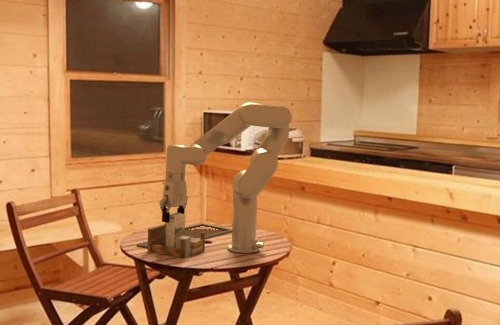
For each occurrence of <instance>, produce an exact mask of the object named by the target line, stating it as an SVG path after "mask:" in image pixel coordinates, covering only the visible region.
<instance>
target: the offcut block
mask: <svg viewBox="0 0 500 325" xmlns="http://www.w3.org/2000/svg"><path fill="white" fill-rule="evenodd" d="M181 239H185V258H187V257H189V256H190V255H191V254H190V249H191V237H188V236H180V237H177V238H176V248H178V249H181Z"/></svg>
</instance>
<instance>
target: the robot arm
mask: <svg viewBox="0 0 500 325" xmlns="http://www.w3.org/2000/svg"><path fill="white" fill-rule="evenodd" d="M292 120H293V114H292V111H291V110H290V109H289V107H286V106H284V105H273V104H263V103H262V104H260V103H256V102H255V103H254V102H246V103H244V104H242V105H240V106H239V107H237V108H236V109H235V110H234V111H232V112H231V113H229V115H228V116H226V117H225V118H223V119H222V120H221V121H220V122H218V123H217V124H216V125H215V126H213V127H211V129H210V130H208V131H207V132H205V133H204V134H203V135H201V136H200V137H199V138H198V139H196V140H195V141H194V142H192V143H191V144H190V145H189V146H184V145H183V144H169V145H167V147H166V156H165V157H166V160H165V161H166V162H165V181H164V185H163V192H162V198H161V200H159V202H158V203H159V207H160V210H161V222H162V223H165V222H166V223H169V221H170V213H171V212H170V210H171V208H176V213H182V214H184V215H185V214H186V213H185V212H186V210H185V209H186V208H187V207H186V205H187V204H188V200H189V196H188V192H187V181H186V167H187V166H186V165H191V166H201V165H203V164H204V163H205V162H206V160H207V156H208V155H210V154H211V153H212V152H214V150H216V149H218V148H220V147H221V146H224V145H226V144H228V143H230V142H232V141H233V140H235V139H236V138H237V137H239V136H240V135H241V134H242V133H243V132H244V131H246V130H247V129H248V128H250V127H252V126H253V127H260V128H268V130H267V132H266V135H265V137H264V138H263V139H262V141H261V142H260V144H259V145H258V146H257V147H256V149H255V150H254V151H253V153H251V156H250V159H249V166H248V167H247V169H246V170H245V169H244V170H241V171H239V172H237V173H236V174H235V175H234V177H233V180H232V221H231V222H232V225H231V229H232V232H231V243H230V244H228V245H227V250H229V251H230V252H234V253H238V254H239V253H240V254H249V253H250V254H252V253H257V252H258V251H259V250H261V249H264V247H265V245H264V244H265V243H264V242H260V241H259V238H257V216H258V215H257V210H258V196H259V195H260V194H261V192H262V191H263V190H264V189H265V187H266V186H267V185H268V183H269V181H270V180H271V179H272V177H273V176H274V175H275V172H276V171H277V169H278V166H279V159H278V157H279V155H280V153H281V152H282V150H283V149H284V147H285V146H286V144H287V143H288V140H289V135H290V124H291V122H292Z"/></svg>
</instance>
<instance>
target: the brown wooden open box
mask: <svg viewBox="0 0 500 325" xmlns="http://www.w3.org/2000/svg"><path fill="white" fill-rule="evenodd" d="M201 239H203V245H202V246H203V251H205V246H206V244H205V243H206V242H205V240H206V239H205V232H201ZM164 240H165V223H164V224H160V225H156V226H153V227H151V228H150V227H149V228H147V241H148V248H147V253H155V254H160V255H164V256H171V257H175V258H180V259H185V258H186V257H185V239H181V249H178V248H173V247H167V246H164Z"/></svg>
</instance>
